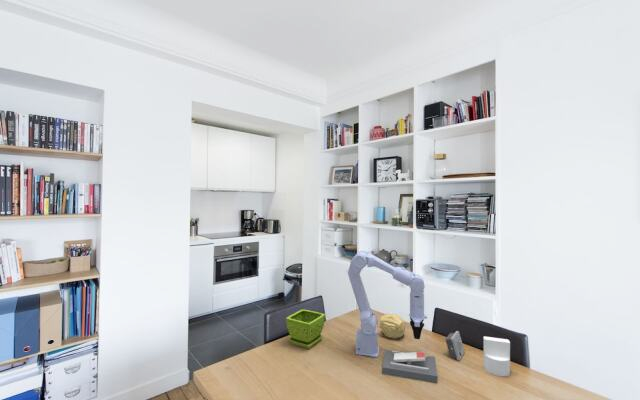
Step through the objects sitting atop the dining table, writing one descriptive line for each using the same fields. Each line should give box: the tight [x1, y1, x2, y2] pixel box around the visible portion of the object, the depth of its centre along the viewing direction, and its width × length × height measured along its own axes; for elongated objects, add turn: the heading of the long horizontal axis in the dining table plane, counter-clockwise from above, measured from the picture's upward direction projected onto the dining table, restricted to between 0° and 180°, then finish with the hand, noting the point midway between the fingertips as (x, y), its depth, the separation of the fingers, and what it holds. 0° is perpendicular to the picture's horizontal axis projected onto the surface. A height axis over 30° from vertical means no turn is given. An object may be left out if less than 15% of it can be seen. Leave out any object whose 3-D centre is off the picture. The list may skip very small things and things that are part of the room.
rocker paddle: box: [394, 351, 426, 362], centre depth 119 cm, size 12×5×1 cm, turn 73°
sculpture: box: [379, 313, 406, 340], centre depth 147 cm, size 11×12×11 cm
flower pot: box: [285, 308, 326, 349], centre depth 140 cm, size 14×14×13 cm
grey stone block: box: [445, 330, 466, 362], centre depth 129 cm, size 9×5×9 cm, turn 141°
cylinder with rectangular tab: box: [483, 335, 511, 378], centre depth 118 cm, size 9×9×12 cm
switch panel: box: [381, 349, 439, 384], centre depth 119 cm, size 20×14×5 cm
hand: (416, 336), depth 125 cm, fingers open, 3 cm apart
